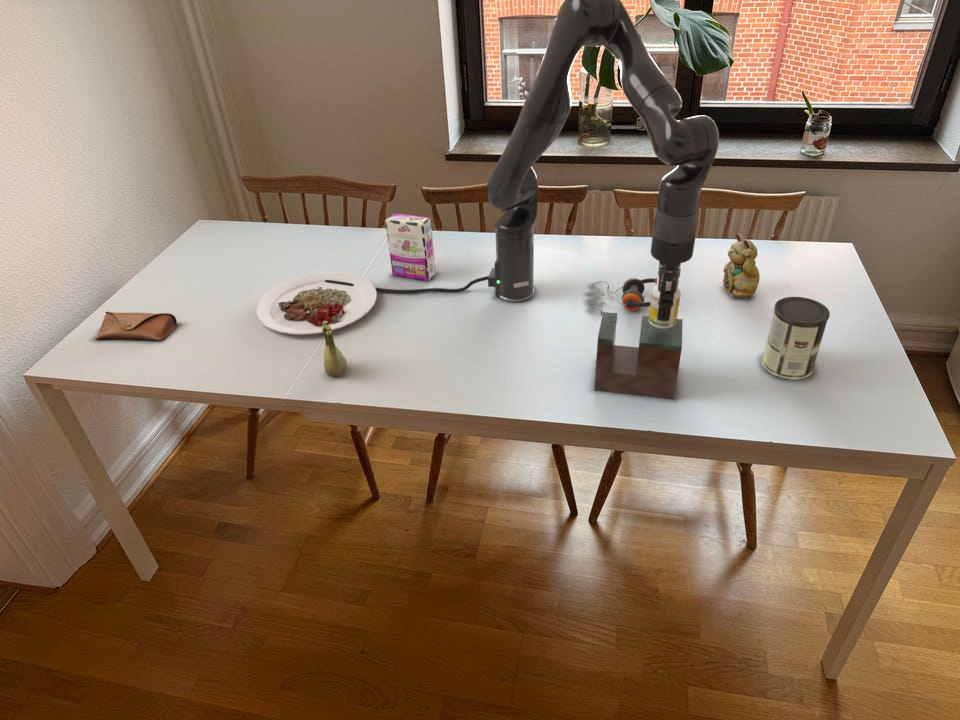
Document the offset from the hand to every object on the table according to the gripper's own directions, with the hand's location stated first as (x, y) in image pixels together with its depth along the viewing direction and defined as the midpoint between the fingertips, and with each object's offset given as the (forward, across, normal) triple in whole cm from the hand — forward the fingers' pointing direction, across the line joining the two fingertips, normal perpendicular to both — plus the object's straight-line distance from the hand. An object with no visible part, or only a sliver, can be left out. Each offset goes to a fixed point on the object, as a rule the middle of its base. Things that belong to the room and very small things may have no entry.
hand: (663, 311), depth 133 cm
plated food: (+18, -16, -84) cm, 87 cm away
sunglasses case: (+18, +3, -124) cm, 125 cm away
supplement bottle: (+3, 0, 0) cm, 3 cm away
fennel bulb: (+18, +9, -68) cm, 71 cm away
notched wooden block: (+17, 0, -4) cm, 18 cm away
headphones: (+18, -31, -8) cm, 36 cm away
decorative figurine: (+18, -41, +19) cm, 48 cm away
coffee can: (+18, -11, +27) cm, 34 cm away
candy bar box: (+18, -36, -65) cm, 76 cm away
